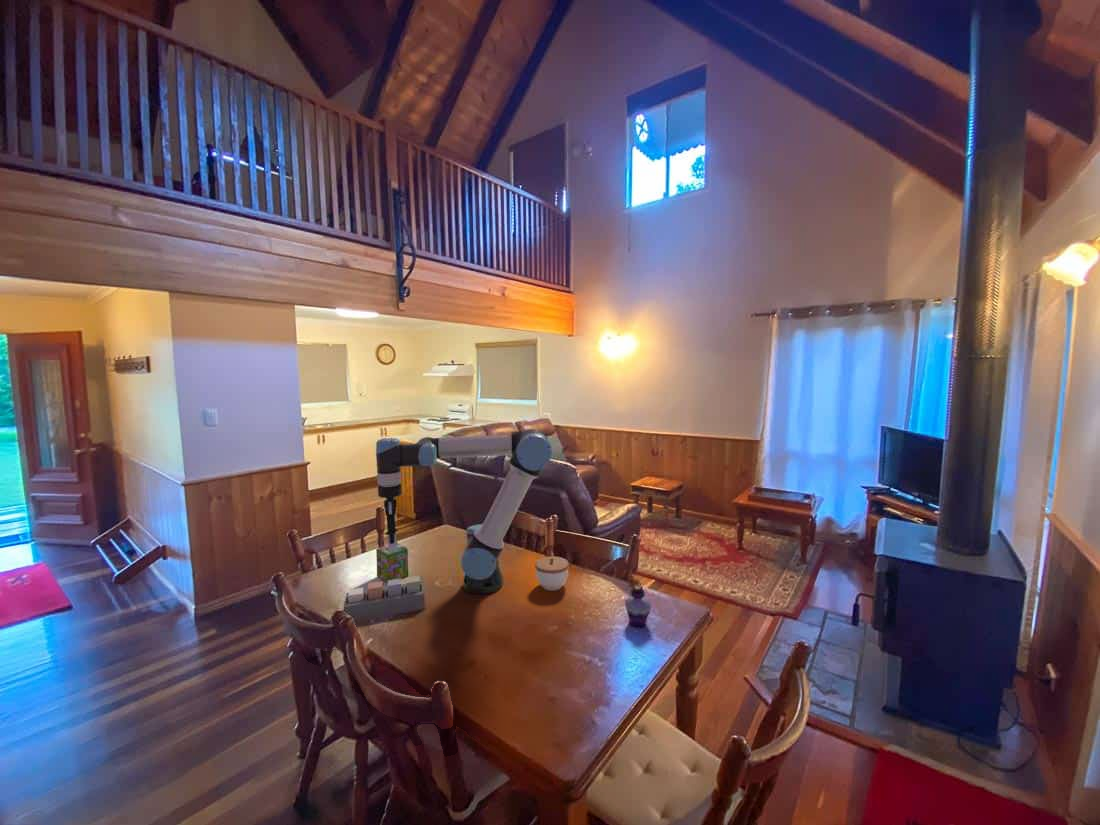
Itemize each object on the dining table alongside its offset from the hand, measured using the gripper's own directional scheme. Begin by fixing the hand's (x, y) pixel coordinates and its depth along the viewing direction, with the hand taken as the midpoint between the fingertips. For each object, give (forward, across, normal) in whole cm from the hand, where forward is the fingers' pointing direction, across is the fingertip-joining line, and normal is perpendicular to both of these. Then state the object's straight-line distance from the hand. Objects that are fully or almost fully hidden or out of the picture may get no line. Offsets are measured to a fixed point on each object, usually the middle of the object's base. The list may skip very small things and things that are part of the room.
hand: (392, 551), depth 157 cm
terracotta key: (+17, 0, -6) cm, 18 cm away
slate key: (+16, 0, 0) cm, 16 cm away
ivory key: (+18, 0, -12) cm, 22 cm away
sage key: (+16, 0, +6) cm, 18 cm away
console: (+20, 0, -3) cm, 20 cm away
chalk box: (+20, -26, -1) cm, 33 cm away
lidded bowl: (+20, +4, +56) cm, 60 cm away
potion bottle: (+20, +37, +74) cm, 85 cm away
